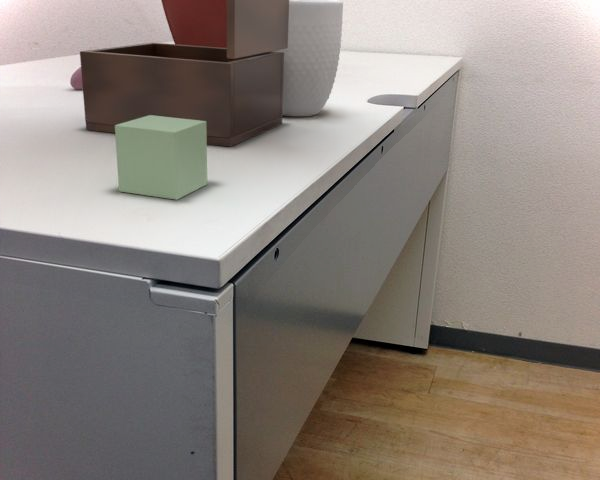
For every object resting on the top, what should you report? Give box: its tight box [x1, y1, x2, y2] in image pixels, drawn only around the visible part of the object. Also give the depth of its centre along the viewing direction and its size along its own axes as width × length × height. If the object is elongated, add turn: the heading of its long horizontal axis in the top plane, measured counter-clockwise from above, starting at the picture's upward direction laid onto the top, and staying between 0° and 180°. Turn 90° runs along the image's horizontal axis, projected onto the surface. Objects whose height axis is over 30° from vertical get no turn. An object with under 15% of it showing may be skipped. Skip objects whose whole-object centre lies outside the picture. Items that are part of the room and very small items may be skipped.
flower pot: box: [161, 0, 227, 48], centre depth 126 cm, size 19×19×17 cm
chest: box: [79, 42, 284, 148], centre depth 78 cm, size 17×14×8 cm
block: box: [114, 115, 208, 201], centre depth 55 cm, size 5×5×5 cm
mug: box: [271, 0, 344, 118], centre depth 89 cm, size 15×11×13 cm
